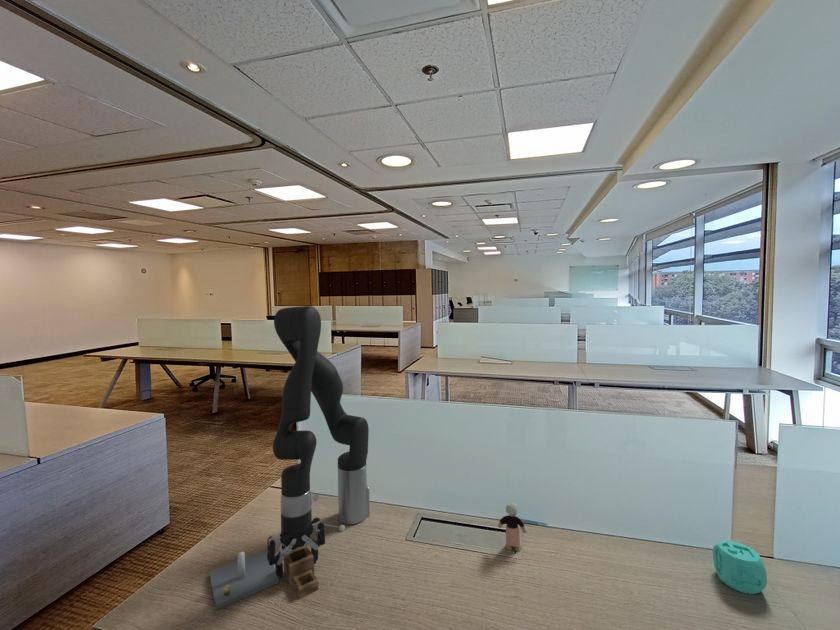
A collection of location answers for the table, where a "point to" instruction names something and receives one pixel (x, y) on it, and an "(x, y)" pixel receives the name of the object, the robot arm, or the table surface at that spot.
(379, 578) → the table surface
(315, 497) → the molecular model
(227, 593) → the brass dowel
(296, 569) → the brown hollow open box
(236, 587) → the slate board
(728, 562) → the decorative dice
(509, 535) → the grandmother figurine
